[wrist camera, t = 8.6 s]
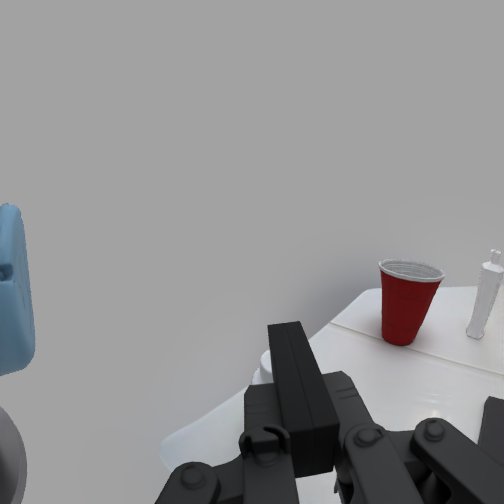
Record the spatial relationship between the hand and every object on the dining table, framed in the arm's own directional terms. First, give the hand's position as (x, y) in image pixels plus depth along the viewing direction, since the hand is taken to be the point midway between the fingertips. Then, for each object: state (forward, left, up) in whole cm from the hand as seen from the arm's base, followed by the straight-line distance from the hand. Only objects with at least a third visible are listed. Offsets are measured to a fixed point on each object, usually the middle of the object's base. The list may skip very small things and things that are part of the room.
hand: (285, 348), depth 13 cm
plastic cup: (+32, 0, -17) cm, 36 cm away
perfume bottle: (+40, -14, -17) cm, 45 cm away
